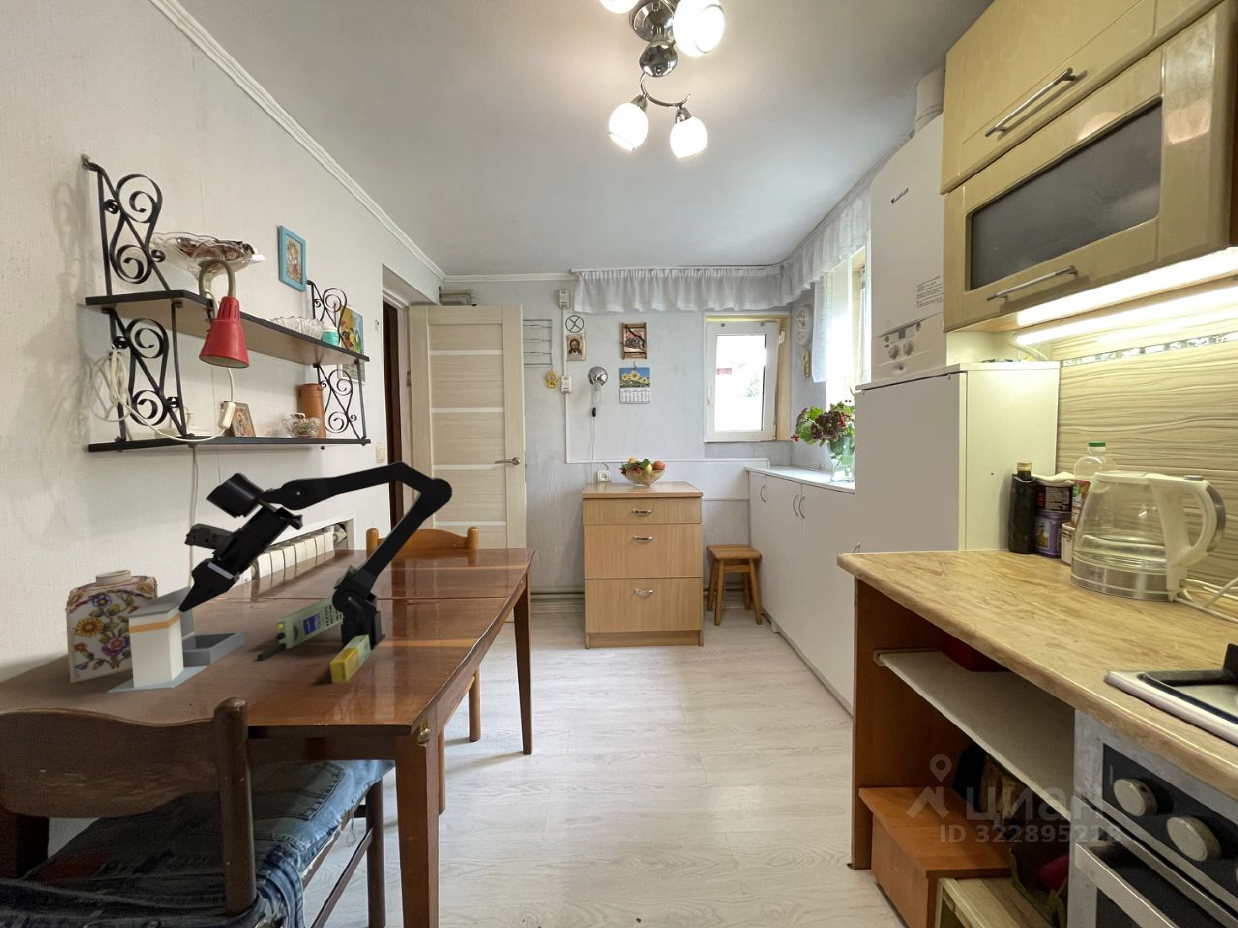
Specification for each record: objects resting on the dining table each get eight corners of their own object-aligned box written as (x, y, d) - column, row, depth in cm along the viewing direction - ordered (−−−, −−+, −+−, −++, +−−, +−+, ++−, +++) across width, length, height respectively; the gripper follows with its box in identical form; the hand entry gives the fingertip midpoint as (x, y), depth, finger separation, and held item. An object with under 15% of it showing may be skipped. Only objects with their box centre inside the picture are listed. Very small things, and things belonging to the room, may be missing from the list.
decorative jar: (160, 664, 93) (153, 571, 92) (69, 686, 85) (60, 585, 85) (163, 646, 102) (156, 561, 101) (81, 664, 94) (73, 572, 94)
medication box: (356, 655, 95) (355, 634, 95) (371, 653, 96) (369, 633, 95) (330, 685, 83) (328, 662, 83) (347, 683, 84) (345, 660, 84)
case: (244, 645, 101) (240, 583, 101) (210, 666, 92) (205, 597, 91) (191, 648, 100) (186, 586, 100) (150, 670, 91) (145, 601, 90)
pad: (207, 668, 91) (206, 665, 91) (171, 690, 83) (171, 687, 83) (148, 673, 90) (148, 669, 90) (107, 695, 82) (107, 691, 82)
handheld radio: (354, 617, 117) (268, 664, 92) (342, 617, 117) (252, 664, 93) (352, 589, 117) (265, 629, 92) (339, 590, 117) (249, 630, 92)
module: (184, 668, 90) (179, 601, 89) (172, 681, 85) (167, 610, 84) (147, 675, 87) (142, 606, 87) (133, 688, 83) (127, 615, 82)
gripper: (230, 500, 97) (163, 564, 93) (201, 515, 81) (119, 592, 76) (281, 534, 101) (220, 596, 97) (264, 554, 85) (189, 630, 81)
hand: (189, 602), depth 88 cm, fingers open, 9 cm apart
